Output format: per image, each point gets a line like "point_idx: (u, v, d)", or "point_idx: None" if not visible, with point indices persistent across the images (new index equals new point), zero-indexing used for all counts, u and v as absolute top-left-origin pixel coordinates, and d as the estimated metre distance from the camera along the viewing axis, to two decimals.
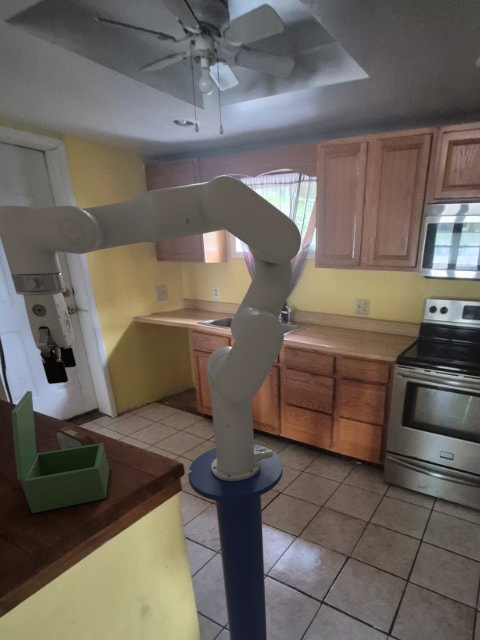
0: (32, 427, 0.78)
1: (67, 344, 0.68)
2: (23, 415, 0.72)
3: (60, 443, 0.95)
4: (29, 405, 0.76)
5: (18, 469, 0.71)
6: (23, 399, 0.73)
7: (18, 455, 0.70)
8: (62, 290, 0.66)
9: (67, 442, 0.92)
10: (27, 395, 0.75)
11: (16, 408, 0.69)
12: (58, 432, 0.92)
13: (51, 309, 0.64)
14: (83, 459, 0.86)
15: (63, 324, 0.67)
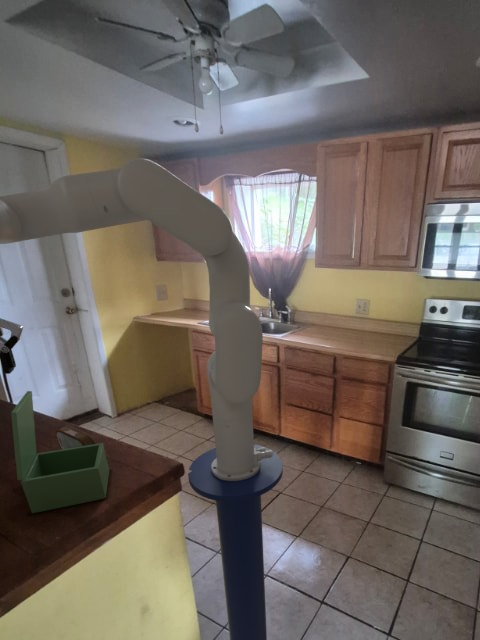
0: (32, 427, 0.78)
1: None
2: (23, 415, 0.72)
3: (60, 443, 0.95)
4: (29, 405, 0.76)
5: (18, 469, 0.71)
6: (23, 399, 0.73)
7: (18, 455, 0.70)
8: None
9: (67, 442, 0.92)
10: (27, 395, 0.75)
11: (16, 408, 0.69)
12: (58, 432, 0.92)
13: None
14: (83, 459, 0.86)
15: None
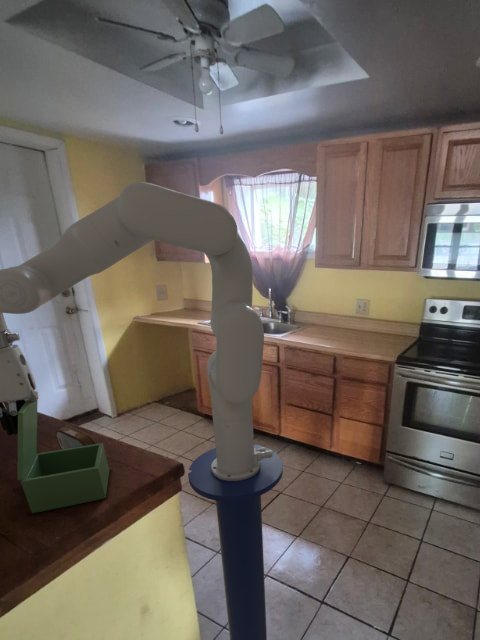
0: (35, 427, 0.79)
1: None
2: (28, 415, 0.72)
3: (60, 443, 0.95)
4: (34, 405, 0.76)
5: (19, 469, 0.71)
6: None
7: (20, 455, 0.71)
8: None
9: (67, 442, 0.92)
10: None
11: (23, 408, 0.69)
12: (58, 432, 0.92)
13: (24, 357, 0.71)
14: (83, 459, 0.86)
15: None
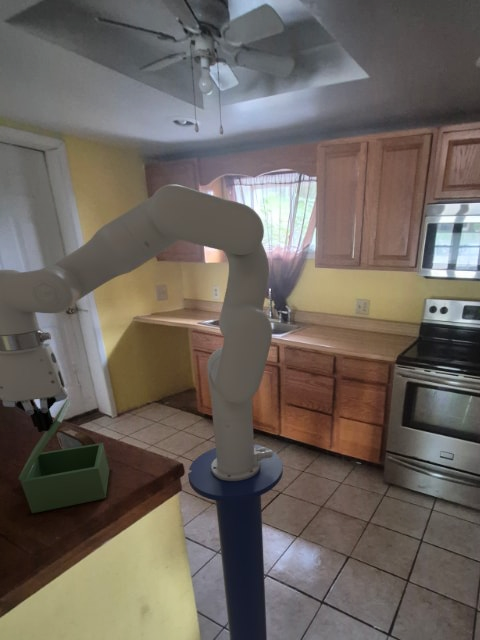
0: None
1: None
2: None
3: (60, 443, 0.95)
4: None
5: (25, 470, 0.72)
6: (65, 408, 0.76)
7: (35, 458, 0.72)
8: None
9: (67, 442, 0.92)
10: (67, 404, 0.78)
11: (60, 417, 0.72)
12: (58, 432, 0.92)
13: (54, 355, 0.73)
14: (83, 459, 0.86)
15: None
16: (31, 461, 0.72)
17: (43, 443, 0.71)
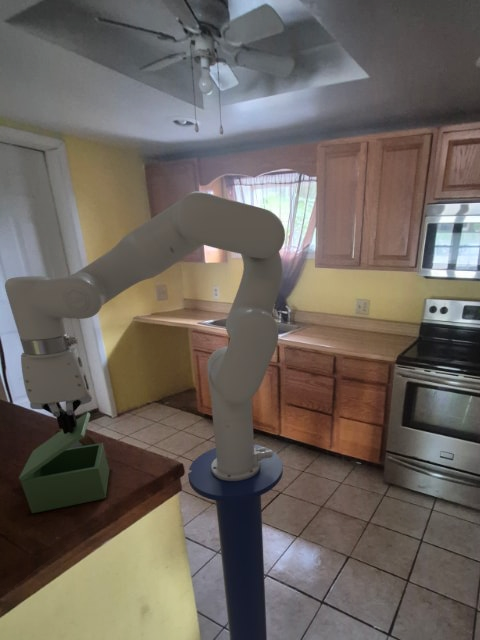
0: None
1: None
2: None
3: None
4: None
5: (30, 472, 0.72)
6: (86, 421, 0.79)
7: (44, 463, 0.73)
8: None
9: None
10: (88, 418, 0.81)
11: (83, 431, 0.75)
12: (58, 432, 0.92)
13: (80, 359, 0.75)
14: (83, 459, 0.86)
15: None
16: (39, 465, 0.72)
17: (58, 451, 0.73)
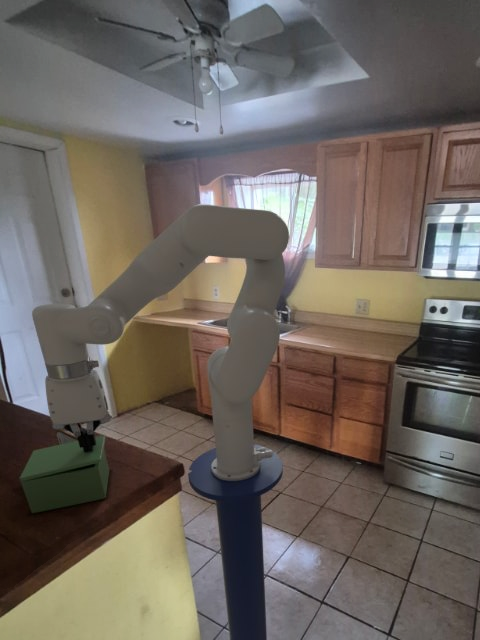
0: None
1: None
2: None
3: (60, 443, 0.95)
4: None
5: (33, 476, 0.73)
6: (103, 445, 0.82)
7: (51, 472, 0.74)
8: None
9: (67, 442, 0.92)
10: (104, 441, 0.84)
11: (101, 456, 0.78)
12: (58, 432, 0.92)
13: (100, 381, 0.78)
14: None
15: None
16: (46, 473, 0.74)
17: (71, 467, 0.75)
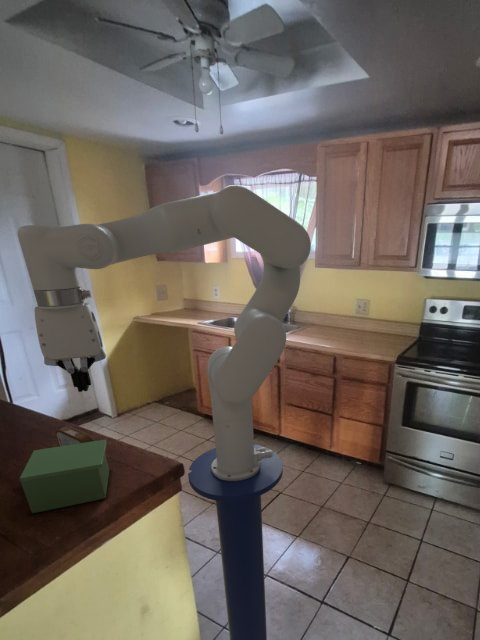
0: None
1: None
2: None
3: (60, 443, 0.95)
4: None
5: (34, 477, 0.73)
6: (104, 450, 0.83)
7: (52, 474, 0.74)
8: None
9: (67, 442, 0.92)
10: (105, 446, 0.85)
11: (102, 460, 0.79)
12: (58, 432, 0.92)
13: (93, 315, 0.74)
14: None
15: None
16: (47, 474, 0.74)
17: (72, 470, 0.75)
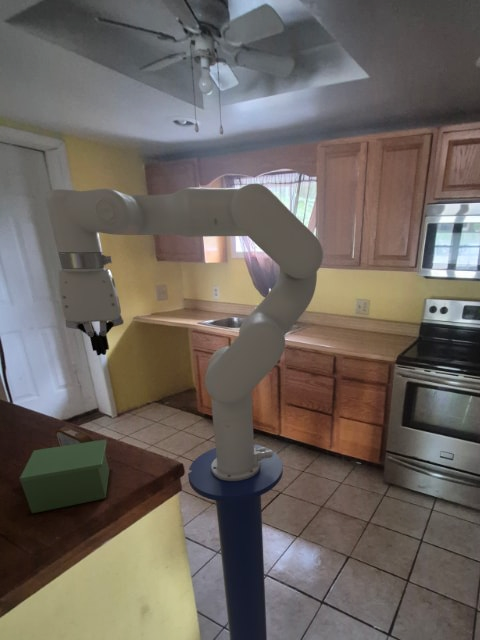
0: None
1: None
2: None
3: (60, 443, 0.95)
4: None
5: (34, 477, 0.73)
6: (104, 450, 0.83)
7: (52, 474, 0.74)
8: None
9: (67, 442, 0.92)
10: (105, 446, 0.85)
11: (102, 460, 0.79)
12: (58, 432, 0.92)
13: None
14: None
15: None
16: (47, 474, 0.74)
17: (72, 470, 0.75)
